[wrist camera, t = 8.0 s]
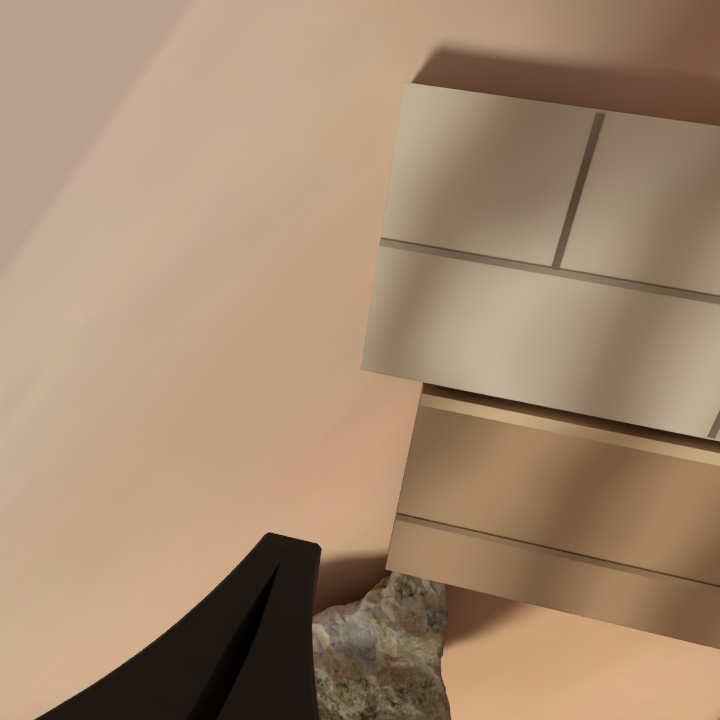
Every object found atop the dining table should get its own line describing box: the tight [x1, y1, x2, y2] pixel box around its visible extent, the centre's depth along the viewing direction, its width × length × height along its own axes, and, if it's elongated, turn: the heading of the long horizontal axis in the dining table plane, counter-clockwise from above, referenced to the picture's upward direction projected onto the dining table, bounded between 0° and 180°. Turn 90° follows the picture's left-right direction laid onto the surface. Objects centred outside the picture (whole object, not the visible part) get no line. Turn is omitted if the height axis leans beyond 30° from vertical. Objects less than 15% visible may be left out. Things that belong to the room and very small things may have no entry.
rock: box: [312, 571, 451, 720], centre depth 25 cm, size 11×6×10 cm
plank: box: [385, 382, 720, 649], centre depth 22 cm, size 15×9×2 cm, turn 82°
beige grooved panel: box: [361, 82, 720, 441], centre depth 18 cm, size 20×10×2 cm, turn 82°
